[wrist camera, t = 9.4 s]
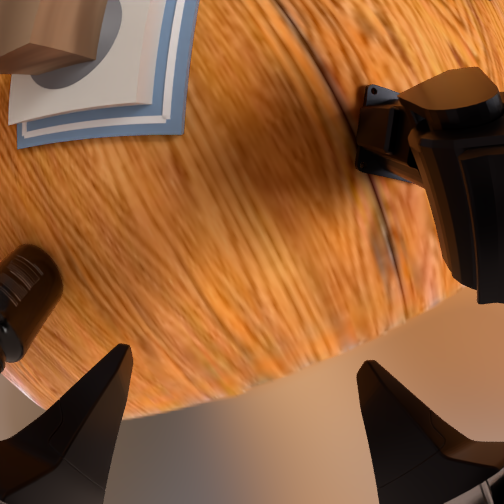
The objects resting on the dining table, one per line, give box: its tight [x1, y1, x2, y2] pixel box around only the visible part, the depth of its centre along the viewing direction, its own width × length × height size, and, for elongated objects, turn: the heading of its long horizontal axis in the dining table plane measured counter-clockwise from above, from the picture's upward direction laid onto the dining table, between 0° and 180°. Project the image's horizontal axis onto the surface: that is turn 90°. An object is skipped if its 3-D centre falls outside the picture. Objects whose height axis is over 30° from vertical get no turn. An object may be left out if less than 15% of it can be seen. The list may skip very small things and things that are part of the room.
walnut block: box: [0, 0, 108, 75], centre depth 6 cm, size 4×4×6 cm
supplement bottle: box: [0, 244, 63, 373], centre depth 15 cm, size 7×7×12 cm
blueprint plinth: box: [8, 0, 199, 149], centre depth 11 cm, size 14×14×4 cm
